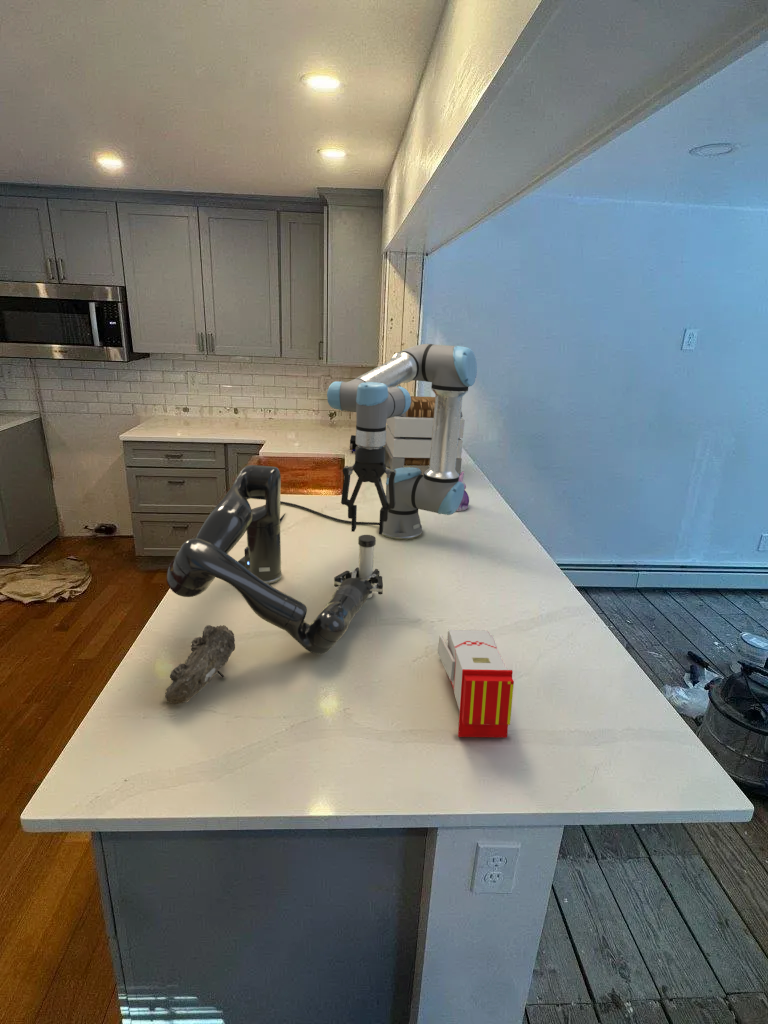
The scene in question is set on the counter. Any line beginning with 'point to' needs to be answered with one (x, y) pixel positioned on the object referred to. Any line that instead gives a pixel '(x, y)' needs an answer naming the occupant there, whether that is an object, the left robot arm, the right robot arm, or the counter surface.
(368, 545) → the lid
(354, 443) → the figurine character
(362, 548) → the bottle
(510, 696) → the toy
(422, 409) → the white storage crate
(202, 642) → the fossil
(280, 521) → the feather
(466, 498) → the figurine
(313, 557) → the counter surface
